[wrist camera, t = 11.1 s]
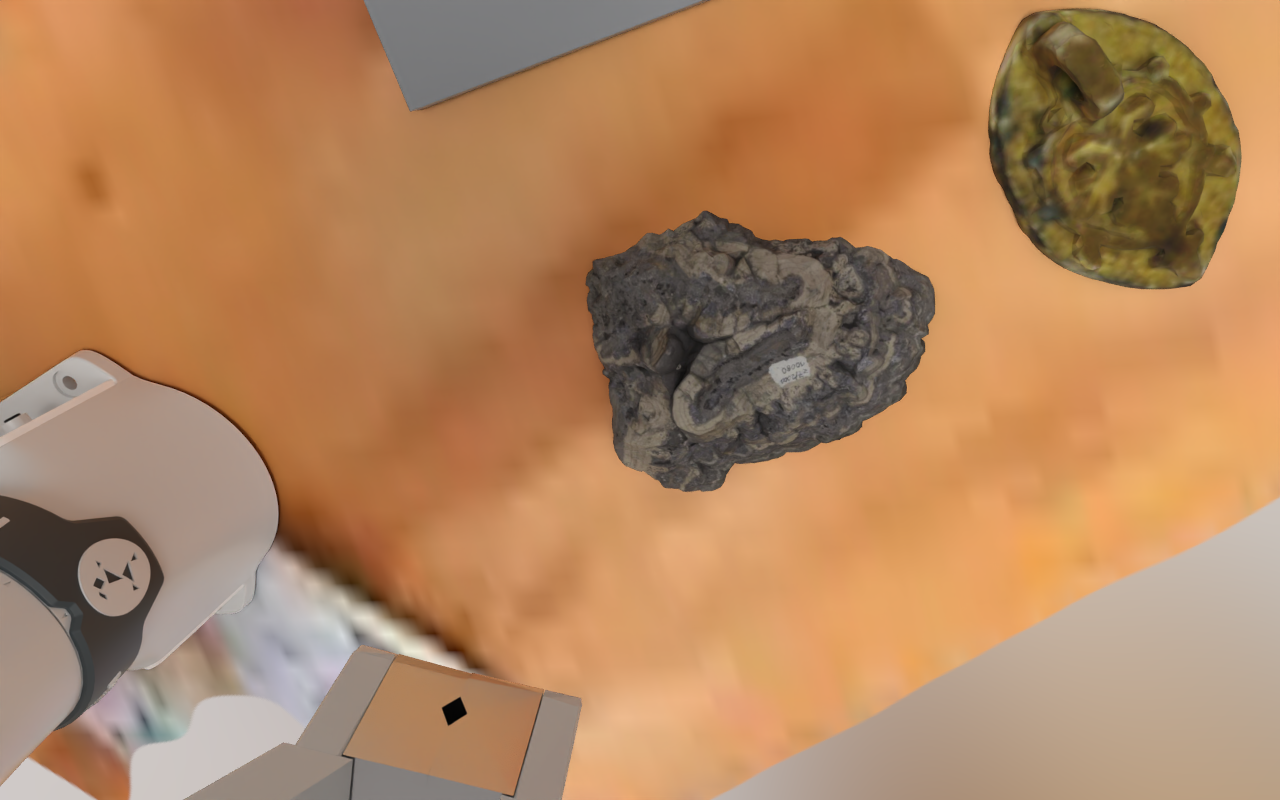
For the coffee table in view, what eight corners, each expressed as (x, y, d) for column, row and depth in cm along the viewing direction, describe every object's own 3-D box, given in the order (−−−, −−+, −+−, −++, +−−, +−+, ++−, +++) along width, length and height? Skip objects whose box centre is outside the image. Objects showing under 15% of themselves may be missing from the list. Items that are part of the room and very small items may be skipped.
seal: (1268, 204, 36) (1099, -56, 33) (1355, 216, 32) (1169, -83, 28) (1098, 334, 39) (922, 104, 35) (1157, 361, 34) (962, 102, 31)
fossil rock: (519, 304, 41) (662, 513, 46) (501, 326, 38) (658, 550, 42) (843, 107, 36) (969, 365, 40) (857, 111, 32) (994, 394, 37)
